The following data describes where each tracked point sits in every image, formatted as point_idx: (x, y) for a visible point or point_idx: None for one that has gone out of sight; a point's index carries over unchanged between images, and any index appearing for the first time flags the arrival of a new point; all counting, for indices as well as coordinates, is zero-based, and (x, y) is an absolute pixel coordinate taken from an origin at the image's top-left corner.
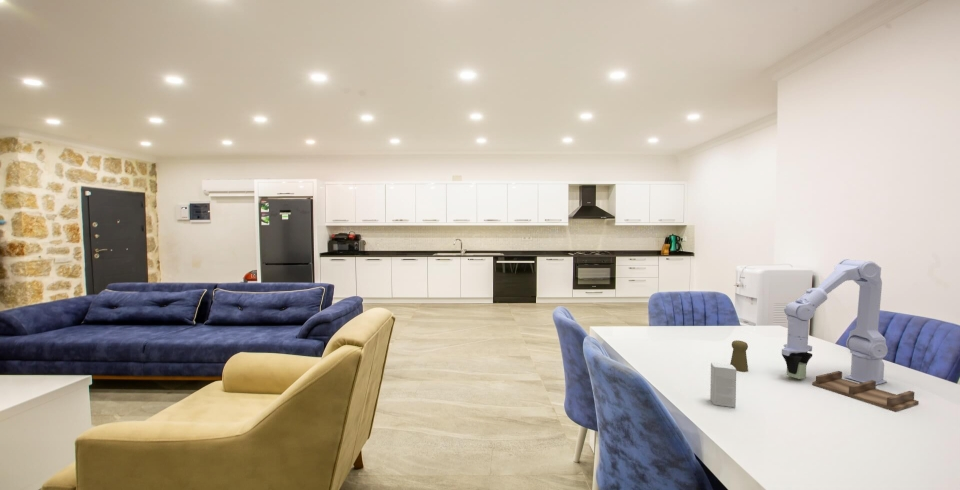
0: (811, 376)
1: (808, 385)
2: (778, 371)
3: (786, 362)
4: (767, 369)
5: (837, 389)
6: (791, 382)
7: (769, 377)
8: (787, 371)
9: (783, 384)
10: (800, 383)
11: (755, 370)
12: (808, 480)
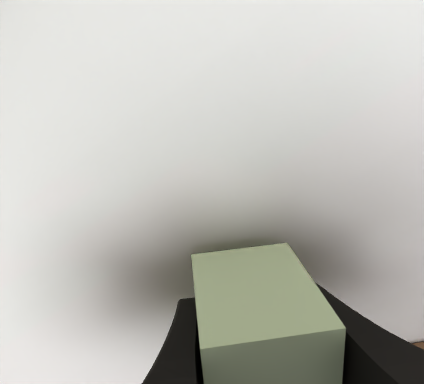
0: (405, 267)
1: None
2: (279, 120)
3: (149, 376)
4: (230, 44)
5: None
6: (123, 320)
7: (36, 209)
8: (194, 279)
9: (17, 336)
10: None
11: (64, 24)
12: None
